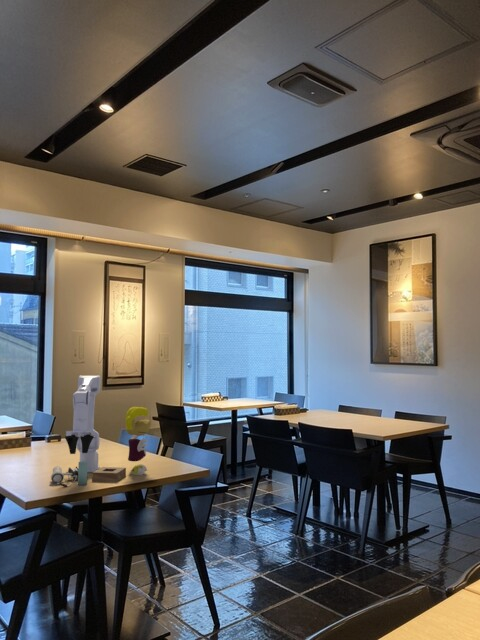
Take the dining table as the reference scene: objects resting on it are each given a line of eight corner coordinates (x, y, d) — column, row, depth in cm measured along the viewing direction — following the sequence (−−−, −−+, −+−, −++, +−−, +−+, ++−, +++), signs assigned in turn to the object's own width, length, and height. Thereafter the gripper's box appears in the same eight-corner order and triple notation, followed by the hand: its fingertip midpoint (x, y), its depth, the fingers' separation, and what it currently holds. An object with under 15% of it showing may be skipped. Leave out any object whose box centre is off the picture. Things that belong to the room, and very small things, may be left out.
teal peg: (80, 482, 212) (80, 461, 212) (88, 483, 211) (89, 461, 212) (76, 485, 208) (77, 462, 209) (84, 485, 208) (85, 463, 208)
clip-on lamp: (80, 493, 207) (78, 474, 223) (82, 478, 206) (80, 460, 223) (50, 493, 202) (50, 474, 219) (52, 478, 202) (52, 460, 218)
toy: (149, 476, 222) (150, 408, 225) (122, 477, 221) (123, 408, 223) (150, 466, 244) (151, 403, 247) (125, 467, 242) (127, 404, 245)
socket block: (102, 474, 226) (102, 467, 226) (125, 475, 225) (125, 467, 225) (92, 480, 215) (92, 472, 216) (116, 481, 214) (116, 473, 214)
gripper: (76, 419, 204) (74, 454, 201) (99, 420, 217) (97, 452, 214) (62, 420, 206) (60, 454, 203) (85, 420, 220) (84, 452, 217)
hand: (78, 453), depth 209 cm, fingers open, 7 cm apart
